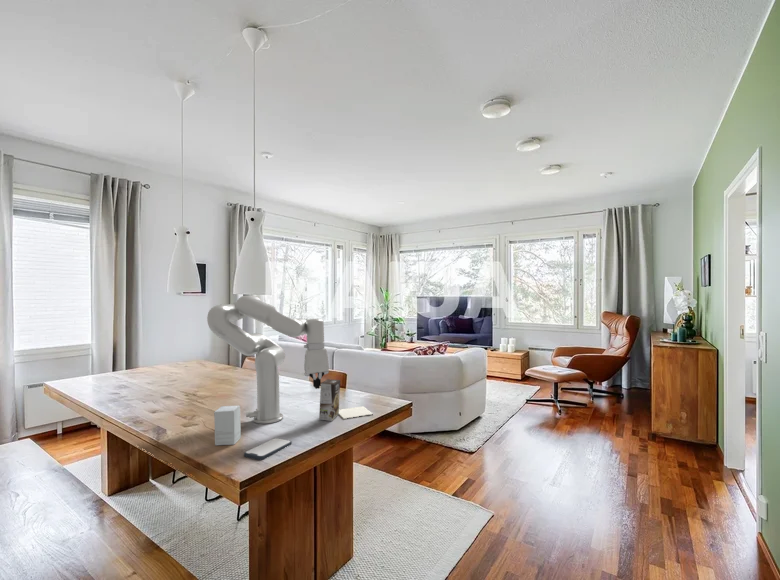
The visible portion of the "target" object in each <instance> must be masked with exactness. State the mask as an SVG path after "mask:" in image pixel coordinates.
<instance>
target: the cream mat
mask: <svg viewBox="0 0 780 580" xmlns="http://www.w3.org/2000/svg"><path fill="white" fill-rule="evenodd" d="M372 414H373V415H374V413H373V412H371V411H370V410H369V409H368V408H366V407H365V406H362V405H361V406H356V407H349V408H342V409H339V415H338V416H340V418H341V419H342V420H348V419H347V418H351V419H354V418H353V417H357V418H360V417H359V416H363V417H366V416H365V415H370V416H373V415H372Z"/></svg>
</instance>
